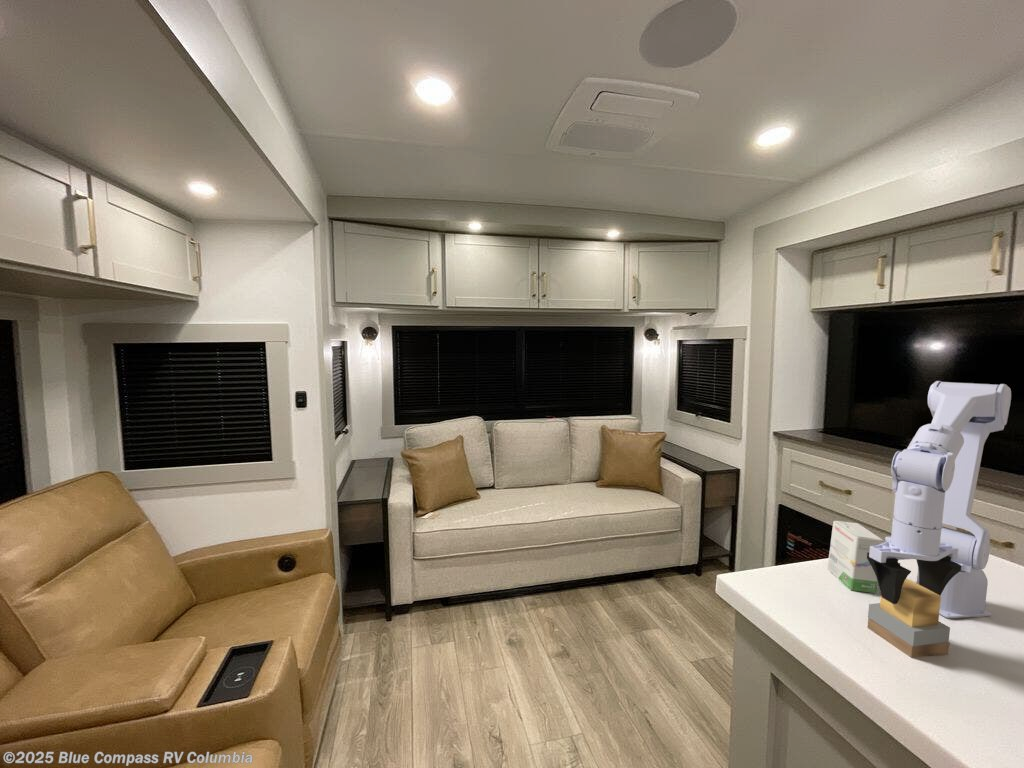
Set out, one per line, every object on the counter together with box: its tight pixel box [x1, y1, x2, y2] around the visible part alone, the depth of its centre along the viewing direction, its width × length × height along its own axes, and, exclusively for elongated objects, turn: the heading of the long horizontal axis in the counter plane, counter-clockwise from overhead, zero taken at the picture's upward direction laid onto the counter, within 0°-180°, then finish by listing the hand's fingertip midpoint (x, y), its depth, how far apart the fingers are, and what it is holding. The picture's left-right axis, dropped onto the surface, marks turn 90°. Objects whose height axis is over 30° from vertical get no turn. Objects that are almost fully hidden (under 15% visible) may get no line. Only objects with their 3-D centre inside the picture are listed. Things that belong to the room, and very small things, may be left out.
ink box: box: [827, 520, 884, 594], centre depth 85 cm, size 9×5×12 cm, turn 168°
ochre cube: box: [879, 578, 941, 627], centre depth 67 cm, size 5×5×5 cm
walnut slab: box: [867, 617, 950, 659], centre depth 68 cm, size 7×7×2 cm
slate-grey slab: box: [867, 602, 951, 646], centre depth 67 cm, size 7×7×2 cm
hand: (908, 599), depth 67 cm, fingers open, 7 cm apart
